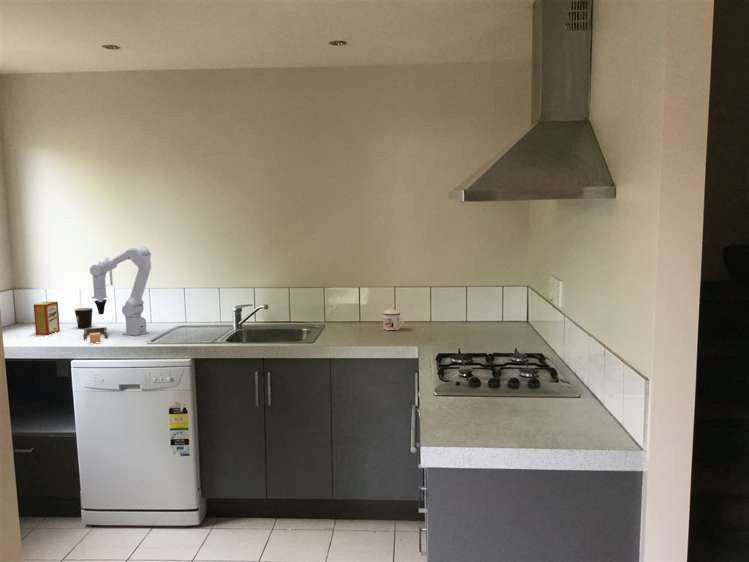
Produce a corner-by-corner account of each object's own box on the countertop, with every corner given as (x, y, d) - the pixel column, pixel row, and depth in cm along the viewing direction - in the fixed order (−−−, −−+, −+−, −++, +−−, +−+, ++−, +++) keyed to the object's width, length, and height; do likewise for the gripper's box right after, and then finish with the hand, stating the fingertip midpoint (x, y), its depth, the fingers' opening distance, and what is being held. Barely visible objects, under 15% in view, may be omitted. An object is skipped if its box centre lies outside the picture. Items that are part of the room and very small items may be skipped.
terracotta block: (90, 342, 287) (89, 333, 287) (100, 341, 289) (99, 332, 289) (90, 344, 283) (89, 335, 283) (100, 343, 285) (100, 334, 285)
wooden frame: (84, 334, 304) (84, 329, 303) (107, 333, 308) (106, 327, 308) (83, 340, 292) (83, 334, 291) (107, 338, 296) (107, 332, 295)
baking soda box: (47, 335, 304) (45, 303, 302) (35, 335, 305) (33, 303, 303) (59, 331, 313) (57, 300, 311) (48, 331, 314) (45, 300, 312)
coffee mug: (76, 326, 325) (74, 308, 324) (93, 325, 329) (92, 307, 327) (75, 330, 315) (74, 311, 313) (93, 329, 318) (92, 310, 317)
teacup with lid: (379, 329, 311) (379, 307, 309) (389, 327, 318) (389, 305, 316) (398, 332, 303) (398, 309, 302) (408, 329, 310) (408, 307, 309)
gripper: (91, 286, 312) (92, 312, 314) (90, 290, 299) (92, 317, 301) (106, 285, 315) (107, 311, 317) (106, 289, 302) (108, 315, 304)
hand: (101, 314), depth 309 cm, fingers closed
